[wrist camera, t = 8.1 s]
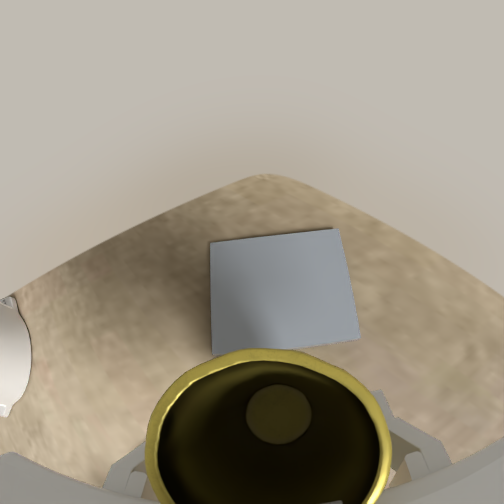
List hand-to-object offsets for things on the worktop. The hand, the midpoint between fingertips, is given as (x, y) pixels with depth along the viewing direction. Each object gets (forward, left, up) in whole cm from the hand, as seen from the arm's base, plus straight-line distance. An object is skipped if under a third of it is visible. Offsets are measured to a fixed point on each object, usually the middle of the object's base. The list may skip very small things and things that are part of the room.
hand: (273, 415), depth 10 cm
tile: (+1, +11, -16) cm, 20 cm away
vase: (0, -1, -9) cm, 9 cm away
